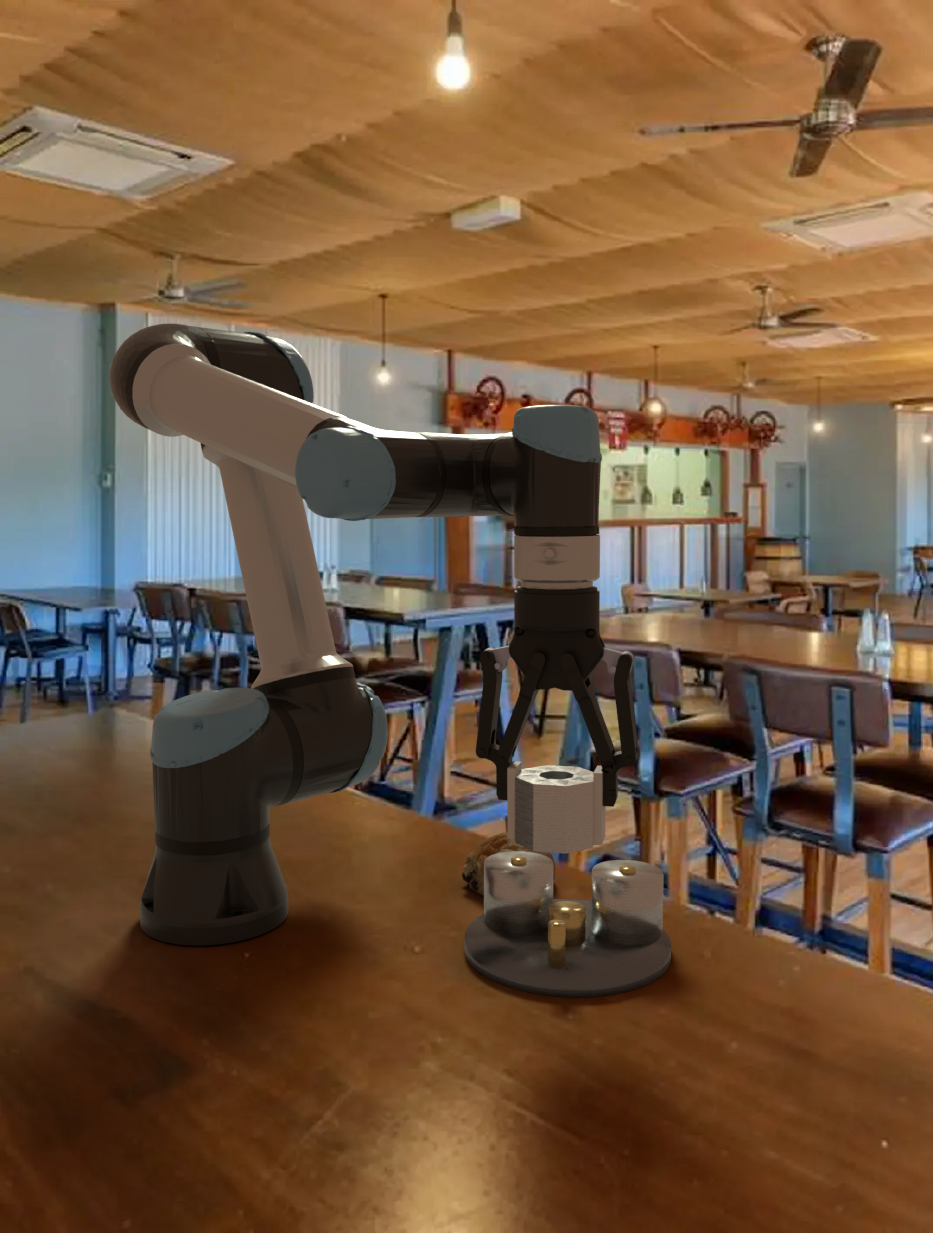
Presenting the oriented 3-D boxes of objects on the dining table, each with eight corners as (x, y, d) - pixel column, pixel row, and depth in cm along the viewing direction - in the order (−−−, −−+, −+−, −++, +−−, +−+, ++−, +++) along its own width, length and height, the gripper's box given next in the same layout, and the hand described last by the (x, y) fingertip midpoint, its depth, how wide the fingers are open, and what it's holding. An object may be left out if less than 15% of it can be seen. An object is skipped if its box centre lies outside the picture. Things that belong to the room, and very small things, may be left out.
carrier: (441, 982, 98) (440, 902, 97) (489, 902, 118) (489, 834, 117) (664, 1008, 93) (666, 924, 93) (676, 919, 113) (678, 849, 112)
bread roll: (526, 937, 117) (557, 876, 115) (444, 889, 119) (474, 828, 118) (546, 904, 127) (575, 847, 125) (470, 860, 129) (498, 803, 127)
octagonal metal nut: (525, 826, 102) (525, 763, 101) (599, 831, 100) (600, 768, 99) (510, 849, 95) (510, 782, 94) (589, 855, 93) (590, 787, 93)
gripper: (436, 586, 94) (439, 842, 96) (668, 589, 89) (665, 859, 92) (458, 579, 101) (460, 818, 104) (674, 582, 96) (671, 832, 99)
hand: (556, 837), depth 98 cm, fingers closed on octagonal metal nut, 7 cm apart
